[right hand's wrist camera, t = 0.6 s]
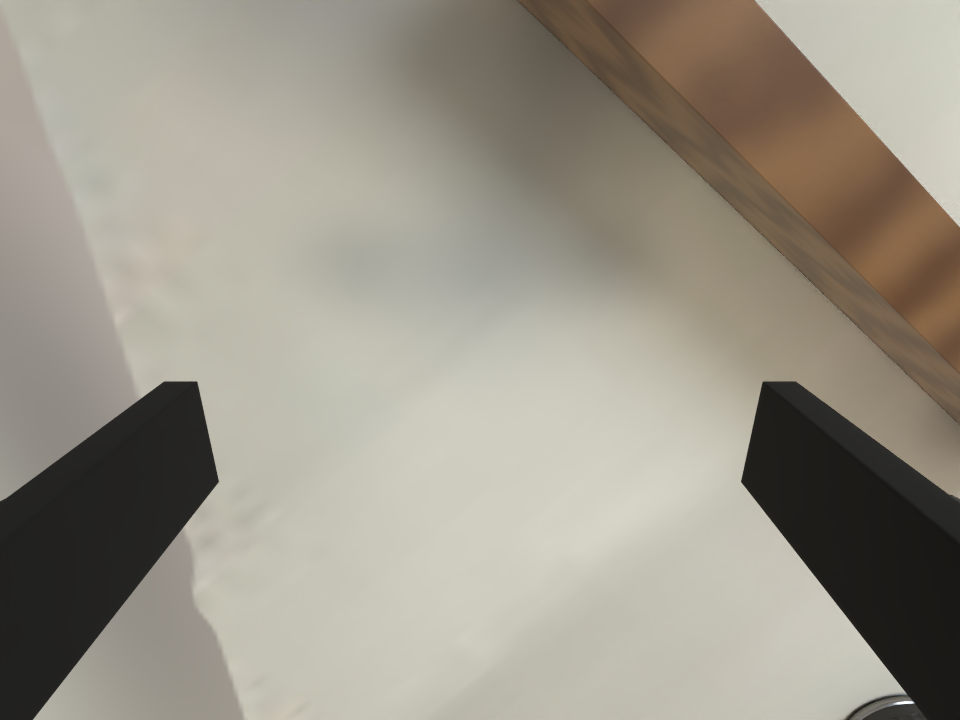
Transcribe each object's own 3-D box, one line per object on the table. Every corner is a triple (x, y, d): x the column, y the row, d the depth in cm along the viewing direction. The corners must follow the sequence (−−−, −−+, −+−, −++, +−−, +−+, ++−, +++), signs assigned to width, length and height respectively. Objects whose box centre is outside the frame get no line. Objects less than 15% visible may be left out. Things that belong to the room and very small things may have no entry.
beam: (486, -29, 29) (489, -95, 22) (540, -110, 28) (564, -211, 20) (1003, 466, 41) (1125, 539, 33) (1058, 425, 40) (1198, 491, 32)
